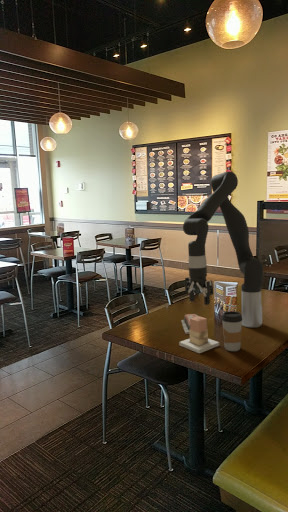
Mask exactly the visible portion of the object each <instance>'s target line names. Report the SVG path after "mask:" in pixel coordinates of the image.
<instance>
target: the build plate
mask: <svg viewBox="0 0 288 512" xmlns="http://www.w3.org/2000/svg"><path fill="white" fill-rule="evenodd" d="M178 343H179V346H180V347H182V348H185V349H186V350H190V351H193V352H194V353H197V354H201V353H204V352H206V351H209V350H211V349H212V350H213V349H214V348H217V347H220V342H219V341H216V340H213V339H211V338H209V337H208V342H207V343H205V344H202V345H196V344H193V343H191V342H190V337H189V338H187V339H184V340H181V341H179V342H178Z"/></svg>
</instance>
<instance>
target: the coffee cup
mask: <svg viewBox="0 0 288 512" xmlns="http://www.w3.org/2000/svg"><path fill="white" fill-rule="evenodd" d="M221 321H222V334H223V335H222V336H223V342H224V348H225V350H226V351H229V352H238V351H240V349H241V343H242V331H243V329H242V328H243V325H242V312H238V311H234V310H233V311H224V312H223V313H222V316H221Z"/></svg>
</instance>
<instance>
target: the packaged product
mask: <svg viewBox="0 0 288 512" xmlns="http://www.w3.org/2000/svg"><path fill="white" fill-rule="evenodd" d="M197 316H199V315H198V314H196V313H190V314H189V313H187V314H184V318H183V319H181V320H180V322H181V325H182V328H183V330H184V333H185V335H190V333H189V330H190V319H191V318H194V317H197Z"/></svg>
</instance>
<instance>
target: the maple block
mask: <svg viewBox="0 0 288 512" xmlns="http://www.w3.org/2000/svg"><path fill="white" fill-rule="evenodd" d="M208 331H209V330H208V329H207V330H205V331H203V332H200V333H198V332H195V331H192V330H189V333H190V334H189V338H190V342H191V343H193V344H196V345H202V344H205V343H207V342H208V338H209V332H208Z"/></svg>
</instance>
